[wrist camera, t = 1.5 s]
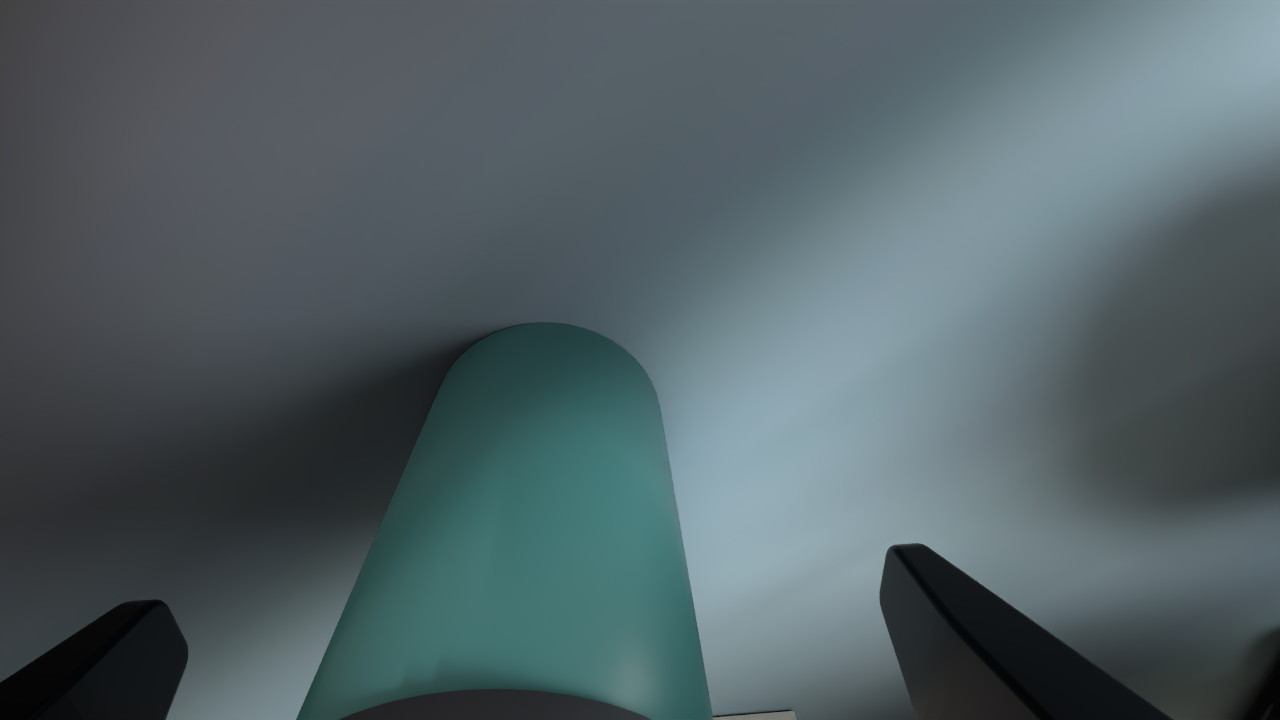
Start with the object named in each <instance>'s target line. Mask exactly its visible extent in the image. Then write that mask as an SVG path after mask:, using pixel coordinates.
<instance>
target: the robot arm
mask: <svg viewBox="0 0 1280 720" xmlns="http://www.w3.org/2000/svg"><path fill="white" fill-rule="evenodd" d="M880 605H881V610H882V613H883V616H884V619H885V622H886V625H887V628H888V631H889V635H890V638H891V641H892V644H893V647H894V650H895V653H896V656H897V659H898V662H899V665H900V668H901V671H902V674H903V677H904V681H905V684H906V687H907V690H908V693H909V696H910V699H911V702H912V705H913V708H914V711H915V714H916V717H917V720H1173V719H1171V718H1170V717H1169V716H1167V715H1166V714H1164V713H1163V712H1162V711H1160V710H1159V709H1157V708H1156V707H1154V706H1153V705H1152V704H1150V703H1149V702H1147V701H1146V700H1144V699H1143V698H1142V697H1140V696H1139V695H1137V694H1136V693H1135V692H1133V691H1132V690H1130V689H1129V688H1127V687H1126V686H1125V685H1123V684H1122V683H1120V682H1119V681H1118V680H1116V679H1115V678H1113V677H1112V676H1110V675H1109V674H1108V673H1106V672H1105V671H1103V670H1102V669H1100V668H1099V667H1098V666H1096V665H1095V664H1093V663H1092V662H1091V661H1089V660H1088V659H1086V658H1085V657H1083V656H1082V655H1081V654H1079V653H1078V652H1076V651H1075V650H1074V649H1072V648H1071V647H1069V646H1068V645H1066V644H1065V643H1064V642H1062V641H1061V640H1059V639H1058V638H1056V637H1055V636H1054V635H1052V634H1051V633H1049V632H1048V631H1047V630H1045V629H1044V628H1042V627H1041V626H1039V625H1038V624H1037V623H1035V622H1034V621H1032V620H1031V619H1030V618H1028V617H1027V616H1025V615H1024V614H1022V613H1021V612H1020V611H1018V610H1017V609H1015V608H1014V607H1012V606H1011V605H1010V604H1008V603H1007V602H1005V601H1004V600H1003V599H1001V598H1000V597H998V596H997V595H995V594H994V593H993V592H991V591H990V590H988V589H987V588H986V587H984V586H983V585H981V584H980V583H978V582H977V581H976V580H974V579H973V578H971V577H970V576H968V575H967V574H966V573H964V572H963V571H961V570H960V569H959V568H957V567H956V566H954V565H953V564H951V563H950V562H949V561H947V560H946V559H944V558H943V557H942V556H940V555H939V554H937V553H936V552H934V551H933V550H932V549H930V548H929V547H927V546H925V545H923V544H919V543H914V544H900V545H893V546H891V547H890V548H889V549H888V551H887V553H886V558H885V564H884V569H883V575H882V581H881V587H880ZM187 660H188V645H187V642H186V640H185V638H184V636H183V634H182V632H181V630H180V628H179V626H178V625H177V623H176V621H175V619H174V617H173V615H172V613H171V611H170V609H169V607H168V606H167V604H166V603H164V602H163V601H161V600H156V599H155V600H141V601H129V602H125V603H122V604H120V605H118V606H116V607H115V608H113V609H112V610H110V611H109V612H107V613H106V614H104V615H103V616H101V617H100V618H98V619H96V620H95V621H93V622H92V623H90V624H89V625H87V626H86V627H84V628H83V629H81V630H80V631H78V632H77V633H75V634H74V635H72V636H71V637H69V638H68V639H66V640H65V641H63V642H61V643H60V644H58V645H57V646H55V647H54V648H52V649H51V650H49V651H48V652H46V653H45V654H43V655H42V656H40V657H39V658H37V659H36V660H34V661H33V662H31V663H29V664H28V665H26V666H25V667H23V668H22V669H20V670H19V671H17V672H16V673H14V674H13V675H11V676H10V677H8V678H7V679H5V680H4V681H2V682H1V683H0V720H166V717H167V715H168V712H169V710H170V707H171V704H172V702H173V699H174V697H175V694H176V691H177V689H178V686H179V684H180V681H181V678H182V676H183V673H184V671H185V668H186V665H187ZM1247 720H1280V666H1279V667H1278V669H1277V671H1276V672H1275V674H1274V676H1273V677H1272V679H1271V681H1270V682H1269V684H1268V686H1267V687H1266V689H1265V691H1264V692H1263V694H1262V696H1261V697H1260V699H1259V701H1258V702H1257V704H1256V706H1255V707H1254V709H1253V711H1252V712H1251V714H1250V716H1249V717H1248V719H1247Z"/></svg>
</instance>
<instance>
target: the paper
mask: <svg viewBox="0 0 1280 720" xmlns="http://www.w3.org/2000/svg"><path fill="white" fill-rule="evenodd" d="M713 720H796V717H795V713H794V711H786V712H773V713H761V714H749V715H737V716H725V717H713Z"/></svg>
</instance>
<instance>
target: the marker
mask: <svg viewBox="0 0 1280 720" xmlns="http://www.w3.org/2000/svg"><path fill="white" fill-rule="evenodd" d="M296 720H713V716H712V710H711V704H710V699H709V693H708V687H707V681H706V675H705V669H704V663H703V657H702V651H701V646H700V640H699V634H698V628H697V622H696V616H695V610H694V604H693V598H692V593H691V587H690V581H689V575H688V569H687V563H686V557H685V551H684V546H683V540H682V534H681V528H680V522H679V516H678V510H677V504H676V498H675V493H674V487H673V481H672V475H671V469H670V463H669V457H668V451H667V445H666V440H665V434H664V428H663V422H662V416H661V410H660V405H659V401H658V397H657V393H656V391H655V389H654V386H653V384H652V382H651V380H650V378H649V377H648V375H647V373H646V372H645V370H644V369H643V368H642V367H641V365H640V364H639V363H638V362H637V361H636V359H635V358H634V357H632V356H631V355H630V354H629V353H628V352H627V351H626V350H625V349H623V348H622V347H621V346H619V345H618V344H616V343H615V342H613V341H612V340H610V339H608V338H606V337H604V336H602V335H600V334H598V333H595V332H593V331H590V330H587V329H585V328H581V327H577V326H573V325H568V324H559V323H531V324H523V325H518V326H514V327H510V328H506V329H504V330H501V331H498V332H496V333H493V334H491V335H489V336H487V337H485V338H484V339H482V340H480V341H478V342H477V343H475V344H474V345H473V346H471V347H470V348H469V349H467V350H466V351H465V352H464V353H463V354H462V355H461V356H460V357H459V358H458V359H457V360H456V361H455V363H454V364H453V365H452V367H451V368H450V369H449V371H448V372H447V374H446V376H445V378H444V380H443V382H442V384H441V386H440V388H439V391H438V393H437V395H436V398H435V400H434V402H433V405H432V407H431V409H430V411H429V414H428V416H427V418H426V421H425V423H424V425H423V428H422V430H421V432H420V435H419V437H418V439H417V442H416V444H415V446H414V448H413V451H412V453H411V455H410V458H409V460H408V462H407V465H406V467H405V469H404V472H403V474H402V476H401V479H400V481H399V483H398V485H397V488H396V490H395V492H394V495H393V497H392V499H391V502H390V504H389V506H388V509H387V511H386V513H385V516H384V518H383V520H382V522H381V525H380V527H379V529H378V532H377V534H376V536H375V539H374V541H373V543H372V546H371V548H370V550H369V553H368V555H367V557H366V559H365V562H364V564H363V566H362V569H361V571H360V573H359V576H358V578H357V580H356V583H355V585H354V587H353V590H352V592H351V594H350V596H349V599H348V601H347V603H346V606H345V608H344V610H343V613H342V615H341V617H340V620H339V622H338V624H337V627H336V629H335V631H334V633H333V636H332V638H331V640H330V643H329V645H328V647H327V650H326V652H325V654H324V657H323V659H322V661H321V664H320V666H319V668H318V670H317V673H316V675H315V677H314V680H313V682H312V684H311V687H310V689H309V691H308V694H307V696H306V698H305V701H304V703H303V705H302V707H301V710H300V712H299V714H298V717H297V719H296Z"/></svg>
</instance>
